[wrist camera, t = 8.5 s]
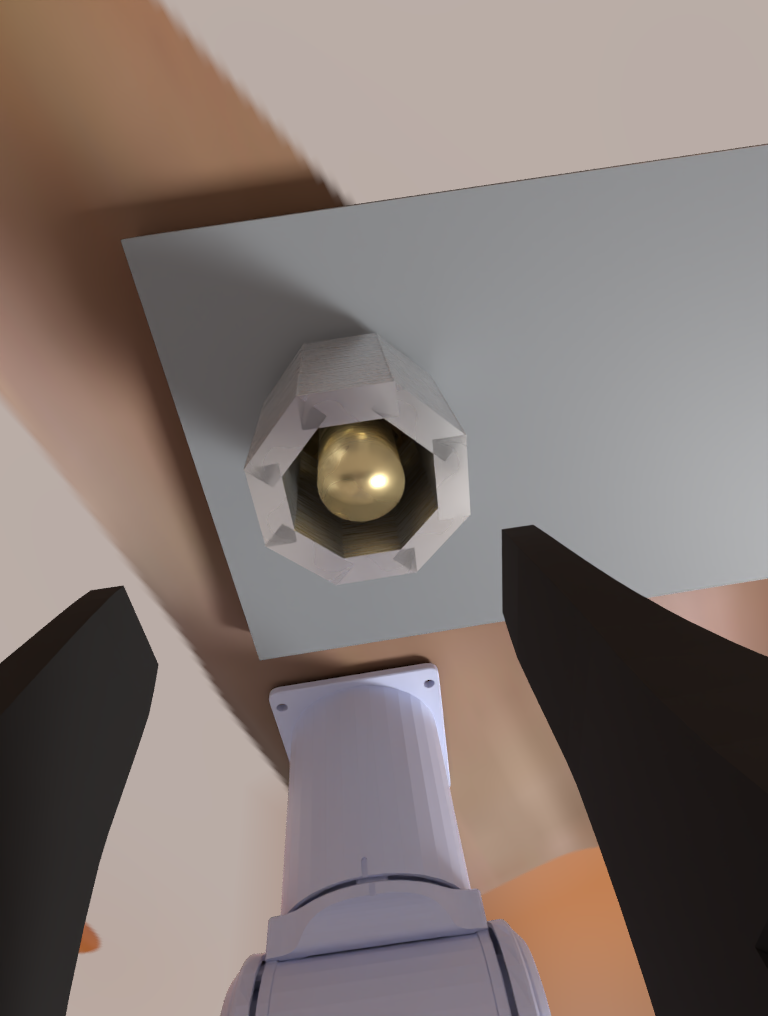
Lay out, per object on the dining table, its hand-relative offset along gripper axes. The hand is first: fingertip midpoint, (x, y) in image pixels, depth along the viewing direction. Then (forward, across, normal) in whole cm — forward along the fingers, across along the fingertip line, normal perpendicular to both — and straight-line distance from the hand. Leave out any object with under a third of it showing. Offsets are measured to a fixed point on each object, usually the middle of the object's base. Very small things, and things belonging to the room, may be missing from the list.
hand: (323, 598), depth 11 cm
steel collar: (+8, -1, 0) cm, 8 cm away
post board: (+10, -7, +2) cm, 13 cm away
